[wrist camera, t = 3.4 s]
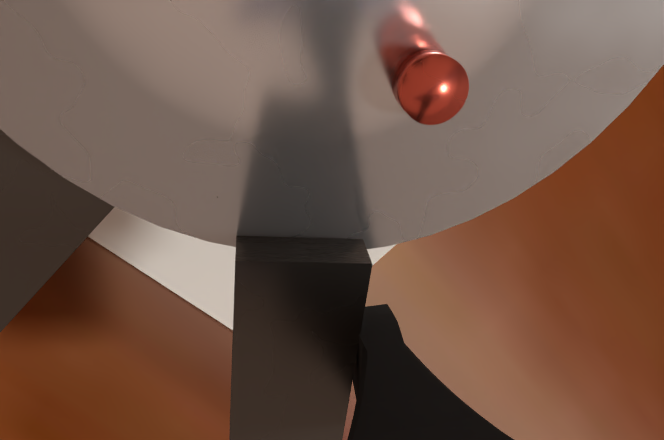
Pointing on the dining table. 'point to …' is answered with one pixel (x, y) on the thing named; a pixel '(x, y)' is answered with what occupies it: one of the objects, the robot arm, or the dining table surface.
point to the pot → (37, 224)
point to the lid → (314, 142)
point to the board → (180, 261)
